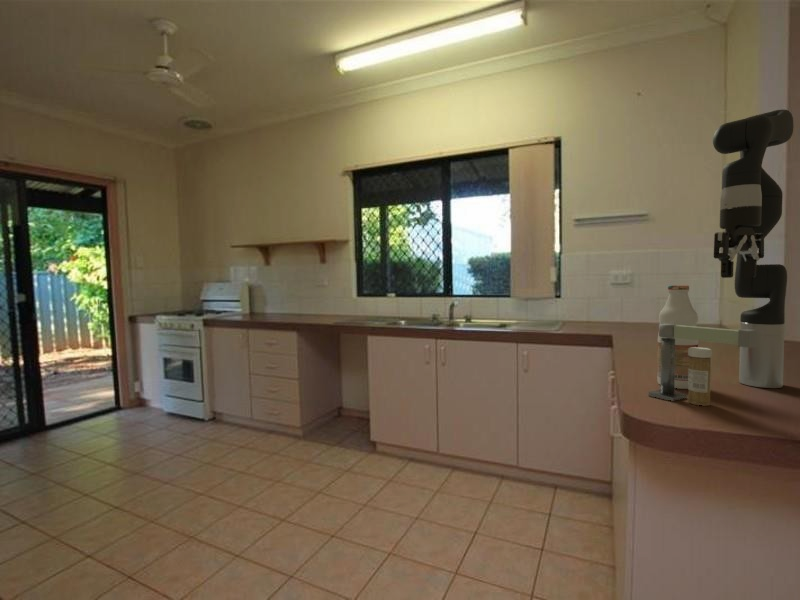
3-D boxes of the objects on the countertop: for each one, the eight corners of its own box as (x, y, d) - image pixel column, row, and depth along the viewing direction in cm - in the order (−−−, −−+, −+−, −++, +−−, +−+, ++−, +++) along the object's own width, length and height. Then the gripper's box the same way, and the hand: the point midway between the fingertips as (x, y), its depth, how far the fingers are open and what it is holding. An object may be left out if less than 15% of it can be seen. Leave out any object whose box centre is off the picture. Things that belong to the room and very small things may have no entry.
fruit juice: (649, 383, 120) (650, 285, 119) (673, 379, 123) (674, 284, 122) (680, 391, 111) (682, 286, 110) (705, 387, 115) (707, 285, 113)
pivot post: (661, 392, 111) (662, 336, 110) (686, 397, 105) (687, 338, 105) (648, 395, 108) (649, 338, 107) (673, 401, 103) (674, 341, 102)
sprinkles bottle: (713, 404, 100) (715, 348, 99) (705, 407, 98) (706, 350, 97) (692, 399, 104) (693, 345, 103) (683, 403, 101) (684, 348, 101)
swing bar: (655, 337, 107) (655, 323, 106) (664, 336, 109) (664, 322, 108) (748, 347, 90) (748, 331, 89) (757, 346, 92) (757, 329, 91)
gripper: (742, 211, 103) (740, 277, 104) (702, 208, 98) (701, 277, 99) (778, 206, 96) (776, 276, 97) (738, 202, 91) (736, 277, 92)
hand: (738, 277), depth 98 cm, fingers open, 8 cm apart
